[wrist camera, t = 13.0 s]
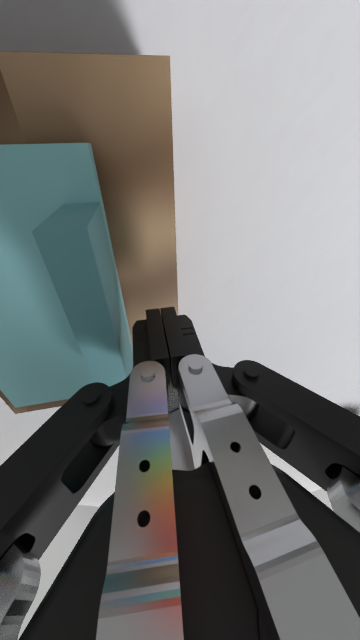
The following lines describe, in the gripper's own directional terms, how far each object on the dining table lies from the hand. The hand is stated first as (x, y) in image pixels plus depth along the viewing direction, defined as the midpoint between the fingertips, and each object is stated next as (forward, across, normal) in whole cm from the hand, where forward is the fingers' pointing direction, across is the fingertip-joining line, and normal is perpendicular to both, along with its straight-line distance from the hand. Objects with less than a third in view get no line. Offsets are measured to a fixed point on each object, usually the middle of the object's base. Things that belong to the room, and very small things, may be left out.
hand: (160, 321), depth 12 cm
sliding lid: (+3, +6, 0) cm, 7 cm away
